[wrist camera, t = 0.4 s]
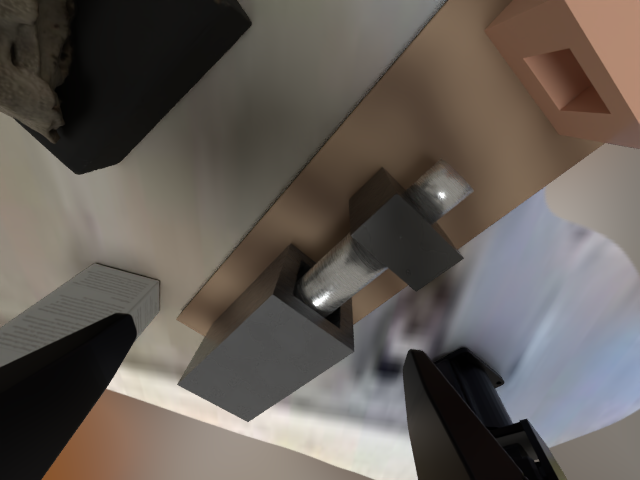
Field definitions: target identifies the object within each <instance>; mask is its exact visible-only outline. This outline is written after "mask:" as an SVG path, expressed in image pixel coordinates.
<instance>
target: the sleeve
mask: <svg viewBox="0 0 640 480" xmlns="http://www.w3.org/2000/svg"><path fill="white" fill-rule="evenodd" d="M315 264H316V262H315V261H313V260H312V259H311V258H310V257H308V256H307V255H306V254H304V253H303V252H302V251H301V250H299V249H298V248H297V247H295V246H294V245H293V244H292V243H290V245H289V246H288V247H287V248H286V249H285V250H284V251H283V252H282V253H281V254H280V255H279V256H278V257H277V258H276V259H275V260H274V261H273V262H272V263H271V264H270V265H269V266H268V267H267V268H266V269H265V270H264V271H263V272H262V273H261V274H260V275H259V276H258V277H257V278H256V280H255V281H254V282H253V283H252V284H251V285H250V286H249V287H248V288H247V289H246V290H245V291H244V292H243V293H242V294H241V295H240V296H239V297H238V298H237V299H236V300H235V301H234V302H233V303H232V304H231V305H230V306H229V307H228V308H227V309H226V310H225V311H224V312H223V313H222V314H221V316H220V317H219V318H218V319H217V320H216V321H215V322H214V323H213V324H212V325H211V327H210V329H209V330H208V332H207V334H206V336H205V337H204V339H203V341H202V343H201V344H200V346H199V348H198V350H197V351H196V353H195V355H194V356H193V358H192V360H191V362H190V363H189V365H188V367H187V369H186V370H185V372H184V374H183V376H182V377H181V379H180V381H179V383H178V384H177V385H179V386H181V387H183V388H184V389H186V390H188V391H190V392H192V393H194V394H196V395H198V396H200V397H201V398H203V399H205V400H207V401H209V402H211V403H213V404H215V405H217V406H219V407H220V408H222V409H224V410H226V411H228V412H230V413H232V414H234V415H236V416H238V417H239V418H241V419H243V420H245V421H247V422H249V421H250V420H252V419H253V418H255V417H256V416H258V415H259V414H261V413H262V412H264V411H265V410H267V409H268V408H270V407H272V406H273V405H275V404H276V403H278V402H279V401H281V400H282V399H284V398H285V397H287V396H288V395H290V394H291V393H293V392H294V391H296V390H297V389H299V388H300V387H302V386H303V385H305V384H306V383H308V382H309V381H311V380H312V379H314V378H315V377H317V376H318V375H320V374H321V373H323V372H324V371H326V370H327V369H329V368H330V367H332V366H333V365H335V364H336V363H338V362H339V361H341V360H342V359H344V358H345V357H347V356H348V355H350V354H351V353H353V352H354V335H353V311H352V297H351V298H350V299H349V300H347V301H346V302H345V303H344V304H342V305H341V306H340V307H338V308H337V309H336V310H335V311H333V312H332V313H331V314H329V315H328V316H327V317H326V318H324V317H322V316H321V315H320V314H318V313H317V312H315V311H314V310H313V309H311V308H310V307H309V306H307V305H306V304H304V303H303V302H302V301H300V300H299V299H297V298H296V297H295V296H293V295H292V293H293V290H294V286H295V283H296V282H297V281H298V280H299V279H300V278H301V277H302V276H303V275H304V274H305V273H306V272H308V271H309V270H310V269H311V268H312V267H313V266H314V265H315Z"/></svg>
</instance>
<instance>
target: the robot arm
mask: <svg viewBox="0 0 640 480" xmlns="http://www.w3.org/2000/svg"><path fill="white" fill-rule="evenodd" d="M136 337H137V329H136V326H135V323H134V320H133V317H132V315H130V314H128V313H120V312H118V313H114V314H112V315H110V316H108V317H106V318H104V319H101V320H99V321H97V322H95V323H93V324H91V325H89V326H87V327H84V328H82V329H80V330H78V331H76V332H74V333H72V334H69V335H67V336H65V337H63V338H61V339H59V340H57V341H55V342H52V343H50V344H48V345H46V346H44V347H42V348H40V349H38V350H35V351H33V352H31V353H29V354H27V355H25V356H23V357H21V358H18V359H16V360H14V361H12V362H10V363H8V364H6V365H3V366H1V367H0V480H41V479H42V478H43V476H44V475H45V474H46V472H47V471H48V469H49V468H50V467H51V465H52V464H53V462H54V461H55V460H56V458H57V457H58V455H59V454H60V453H61V451H62V450H63V448H64V447H65V446H66V444H67V443H68V441H69V440H70V438H71V437H72V436H73V434H74V433H75V432H76V430H77V429H78V427H79V426H80V425H81V423H82V422H83V420H84V419H85V418H86V416H87V415H88V413H89V412H90V411H91V409H92V408H93V406H94V405H95V404H96V402H97V401H98V399H99V398H100V396H101V395H102V394H103V392H104V391H105V389H106V388H107V386H108V385H109V383H110V382H111V380H112V378H113V377H114V375H115V373H116V372H117V370H118V368H119V367H120V365H121V363H122V362H123V360H124V358H125V357H126V355H127V353H128V351H129V350H130V348H131V346H132V345H133V343H134V341H135V339H136ZM403 380H404V391H405V402H406V412H407V422H408V430H409V435H410V441H411V446H412V451H413V456H414V461H415V466H416V471H417V476H418V480H567V478H566V476H565V475H564V473H563V471H562V470H561V468H560V466H559V465H558V463H557V461H556V460H555V458H554V456H553V455H552V453H551V452H550V450H549V448H548V447H547V445H546V444H545V442H544V441H543V440H542V438H541V437H540V436H539V434H538V433H537V432H536V430H535V429H534V428H533V426H532V425H531V424H530V422H529V421H528V420H527V419H524V420H520V422H518V423H515V424H513V423H512V421H511V419H510V417H509V415H508V413H507V411H506V409H505V407H504V405H503V403H502V401H501V400H500V398H499V396H498V394H497V392H496V390H495V388H497V387H499V386H501V385H503V384H504V380H503V379H502V377H501V376H500V375H498V374H497V373H496V372H495V371H494V370H492V369H491V368H490V367H489V366H488V365H486V364H485V363H484V362H483V361H482V360H480V359H479V358H478V357H477V356H476V355H474V354H473V353H472V352H471V351H470V350H468V349H467V348H462V349H459V350H458V351H456V352H454V353H452V354H450V355H448V356H447V357H445V358H443V359H441V360H439V361H437V362H436V363H433V362H432V361H431V360H430V358H429V357H428V356H427V355H426V353H425V352H423V351H421V350H414V349H410V350H409V351H408V354H407V357H406V360H405V363H404V366H403ZM536 459H539V461H540V462H534V460H536Z"/></svg>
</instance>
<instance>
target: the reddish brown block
mask: <svg viewBox="0 0 640 480" xmlns="http://www.w3.org/2000/svg"><path fill="white" fill-rule="evenodd" d="M484 32H485V33H486V34H487V36H488V37H489V39H490V40H491V41H492V43H493V44H494V46H495V47H496V48H497V50H498V51H499V52H500V54H501V55H502V57H503V58H504V59H505V61H506V62H507V63H508V65H509V66H510V68H511V69H512V70H513V72H514V73H515V75H516V76H517V77H518V79H519V80H520V81H521V83H522V84H523V86H524V87H525V88H526V90H527V91H528V92H529V94H530V95H531V97H532V98H533V99H534V101H535V102H536V104H537V105H538V106H539V108H540V109H541V110H542V112H543V113H544V115H545V116H546V117H547V119H548V120H549V121H550V123H551V124H552V126H553V127H554V128H555V130H556V131H557V133H558V134H559V135H563V136H569V137H574V138H580V139H586V140H591V141H597V142H602V143H608V144H613V145H619V146H625V147H630V148H636V149H640V0H512V2H511V3H510V4H509V5H508V6H507V7H506V8H505V9H504V10H503V11H502V12H501V13H500V14H499V15H498V16H497V17H496V18H495V19H494V20H493V22H492V23H491V24H490V25H489V26H488V27H487V28H486V29H485V30H484Z"/></svg>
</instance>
